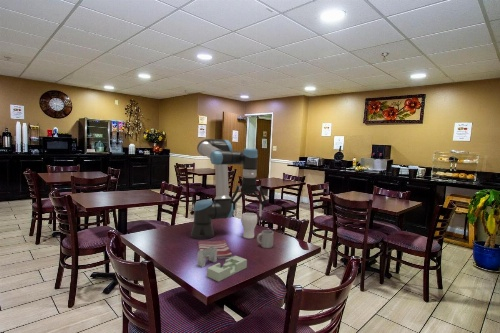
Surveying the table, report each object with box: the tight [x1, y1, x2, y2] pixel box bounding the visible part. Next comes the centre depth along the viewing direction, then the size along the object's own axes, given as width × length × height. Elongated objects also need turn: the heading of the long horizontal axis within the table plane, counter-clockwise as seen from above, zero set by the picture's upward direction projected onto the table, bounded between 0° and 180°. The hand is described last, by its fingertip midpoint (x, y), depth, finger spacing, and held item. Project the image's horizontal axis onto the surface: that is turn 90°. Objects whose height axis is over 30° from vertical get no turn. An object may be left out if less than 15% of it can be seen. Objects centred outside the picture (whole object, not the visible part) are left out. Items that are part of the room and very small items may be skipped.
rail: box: [206, 255, 248, 282], centre depth 134 cm, size 20×7×4 cm, turn 142°
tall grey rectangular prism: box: [196, 247, 218, 268], centre depth 143 cm, size 10×4×7 cm, turn 142°
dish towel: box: [197, 239, 233, 260], centre depth 161 cm, size 17×23×3 cm
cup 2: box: [256, 229, 275, 249], centre depth 171 cm, size 7×10×9 cm
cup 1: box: [240, 212, 258, 239], centre depth 187 cm, size 11×11×15 cm
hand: (247, 215), depth 154 cm, fingers open, 13 cm apart
